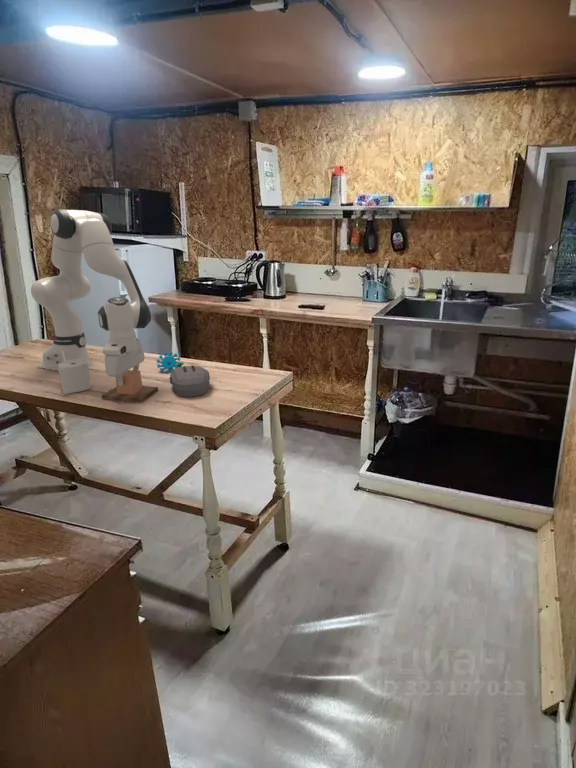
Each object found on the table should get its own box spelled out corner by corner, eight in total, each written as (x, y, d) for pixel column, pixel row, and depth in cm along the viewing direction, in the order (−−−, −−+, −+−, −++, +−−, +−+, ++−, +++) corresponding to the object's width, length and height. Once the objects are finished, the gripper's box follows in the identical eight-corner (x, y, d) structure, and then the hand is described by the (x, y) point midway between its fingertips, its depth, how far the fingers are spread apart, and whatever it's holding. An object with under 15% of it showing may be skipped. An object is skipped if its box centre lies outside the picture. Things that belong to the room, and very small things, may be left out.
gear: (153, 370, 204) (159, 349, 208) (156, 376, 209) (161, 356, 214) (180, 373, 204) (185, 352, 208) (182, 379, 210) (186, 359, 214)
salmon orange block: (117, 393, 180) (115, 375, 177) (127, 387, 185) (124, 369, 183) (133, 394, 178) (131, 376, 176) (142, 388, 184) (140, 370, 182)
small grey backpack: (169, 383, 194) (172, 401, 176) (167, 363, 192) (170, 379, 173) (207, 379, 198) (214, 396, 180) (206, 359, 195) (213, 374, 177)
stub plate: (102, 399, 179) (99, 382, 176) (120, 387, 190) (117, 371, 187) (141, 402, 175) (139, 385, 173) (158, 390, 186) (156, 374, 184)
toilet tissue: (91, 381, 197) (88, 357, 193) (92, 391, 186) (88, 366, 183) (62, 385, 193) (58, 361, 190) (61, 395, 183) (56, 370, 179)
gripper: (131, 336, 186) (135, 371, 191) (99, 351, 167) (105, 389, 172) (146, 337, 184) (150, 372, 189) (116, 352, 166) (121, 390, 170)
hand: (128, 380), depth 180 cm, fingers open, 8 cm apart
